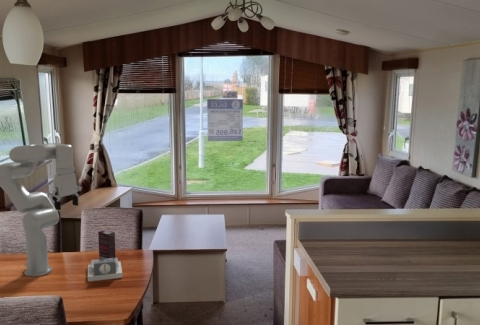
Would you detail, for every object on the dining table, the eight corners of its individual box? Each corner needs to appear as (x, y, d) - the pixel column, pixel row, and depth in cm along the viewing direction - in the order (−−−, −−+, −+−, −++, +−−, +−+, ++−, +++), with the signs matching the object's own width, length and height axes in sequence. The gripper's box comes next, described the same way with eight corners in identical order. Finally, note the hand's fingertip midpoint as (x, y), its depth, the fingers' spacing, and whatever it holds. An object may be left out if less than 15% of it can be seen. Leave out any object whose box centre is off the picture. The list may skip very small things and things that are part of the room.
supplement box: (116, 260, 237) (115, 232, 235) (109, 263, 233) (107, 234, 231) (106, 257, 242) (104, 229, 240) (98, 259, 238) (97, 231, 236)
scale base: (88, 269, 224) (87, 253, 223) (120, 265, 229) (120, 250, 228) (87, 281, 209) (87, 265, 207) (122, 277, 214) (121, 261, 212)
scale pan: (91, 262, 223) (91, 260, 223) (117, 259, 227) (117, 257, 227) (90, 270, 213) (90, 267, 212) (118, 267, 217) (118, 264, 217)
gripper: (74, 168, 210) (76, 202, 212) (43, 173, 195) (45, 210, 198) (85, 169, 206) (87, 204, 209) (54, 174, 191) (56, 212, 194)
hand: (66, 207), depth 203 cm, fingers open, 9 cm apart
